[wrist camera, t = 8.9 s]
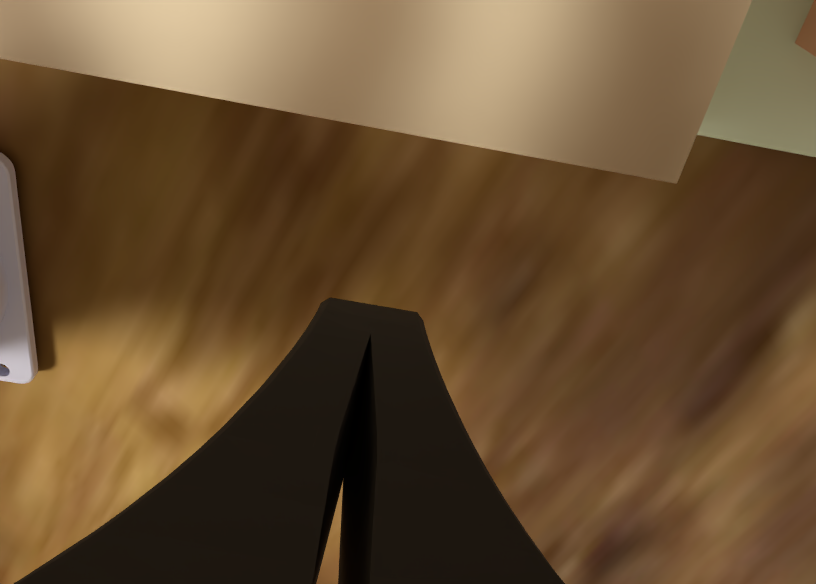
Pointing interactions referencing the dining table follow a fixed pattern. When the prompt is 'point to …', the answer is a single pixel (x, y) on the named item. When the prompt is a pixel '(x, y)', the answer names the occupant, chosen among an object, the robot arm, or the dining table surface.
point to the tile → (808, 32)
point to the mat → (767, 83)
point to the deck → (420, 65)
